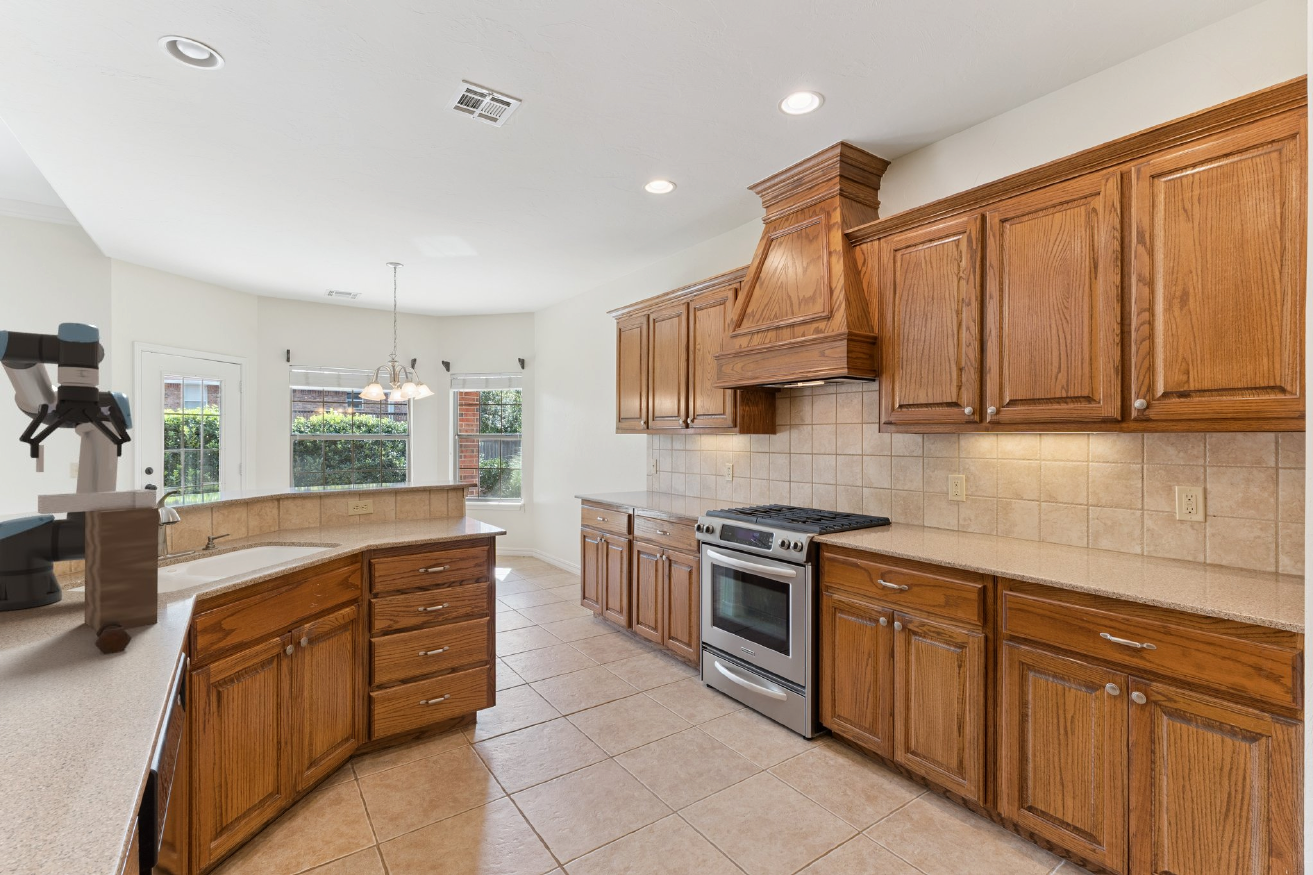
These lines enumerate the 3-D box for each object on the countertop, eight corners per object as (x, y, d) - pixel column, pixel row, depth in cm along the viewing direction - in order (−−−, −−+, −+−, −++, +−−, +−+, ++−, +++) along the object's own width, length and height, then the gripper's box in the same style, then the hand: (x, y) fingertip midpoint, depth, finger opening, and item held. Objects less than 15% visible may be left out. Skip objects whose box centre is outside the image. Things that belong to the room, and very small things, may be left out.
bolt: (114, 643, 139) (118, 658, 129) (88, 637, 136) (90, 651, 126) (131, 619, 141) (136, 631, 131) (105, 611, 138) (109, 624, 128)
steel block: (36, 512, 139) (36, 494, 139) (147, 504, 155) (147, 489, 155) (43, 514, 135) (43, 496, 135) (156, 506, 151) (156, 490, 151)
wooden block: (84, 622, 148) (85, 507, 148) (139, 612, 157) (140, 504, 157) (100, 633, 140) (101, 512, 140) (157, 622, 149) (158, 508, 149)
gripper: (10, 381, 140) (10, 473, 140) (146, 388, 161) (145, 469, 161) (2, 382, 144) (1, 472, 144) (135, 389, 165) (135, 468, 165)
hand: (77, 470), depth 152 cm, fingers open, 13 cm apart
